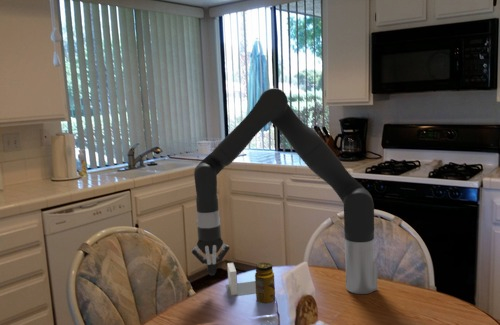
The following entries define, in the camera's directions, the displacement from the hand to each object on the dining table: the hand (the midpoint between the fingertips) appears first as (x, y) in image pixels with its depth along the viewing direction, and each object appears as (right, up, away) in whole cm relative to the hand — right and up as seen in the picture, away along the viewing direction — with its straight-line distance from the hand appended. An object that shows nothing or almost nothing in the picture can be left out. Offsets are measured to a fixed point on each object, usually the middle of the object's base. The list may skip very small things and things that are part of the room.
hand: (212, 274), depth 154 cm
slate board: (+11, -6, +3) cm, 13 cm away
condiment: (+17, -7, -7) cm, 19 cm away
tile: (+7, -6, +2) cm, 9 cm away
